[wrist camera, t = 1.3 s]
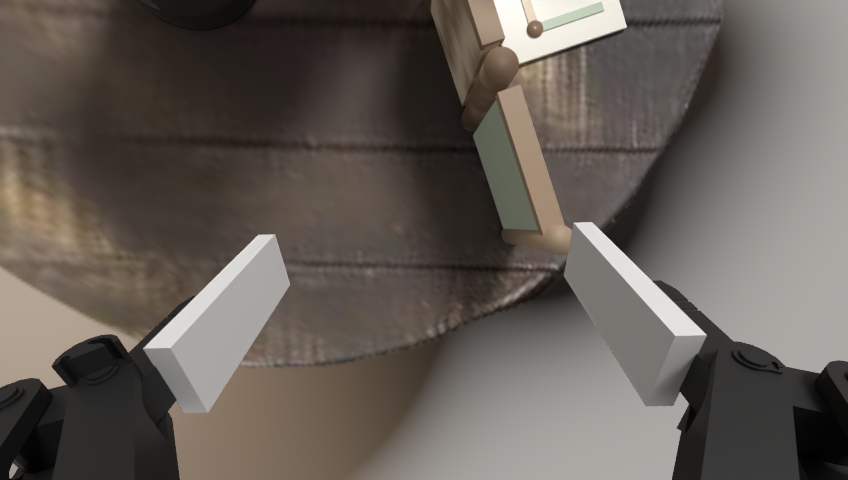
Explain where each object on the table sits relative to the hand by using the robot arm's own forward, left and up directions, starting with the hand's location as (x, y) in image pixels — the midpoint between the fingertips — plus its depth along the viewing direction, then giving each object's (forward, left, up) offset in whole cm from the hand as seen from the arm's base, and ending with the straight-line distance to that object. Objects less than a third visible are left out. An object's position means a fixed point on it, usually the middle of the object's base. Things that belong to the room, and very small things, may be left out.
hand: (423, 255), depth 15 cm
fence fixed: (-19, +7, -23) cm, 31 cm away
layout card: (-24, +19, -23) cm, 38 cm away
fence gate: (-4, +10, -23) cm, 25 cm away
